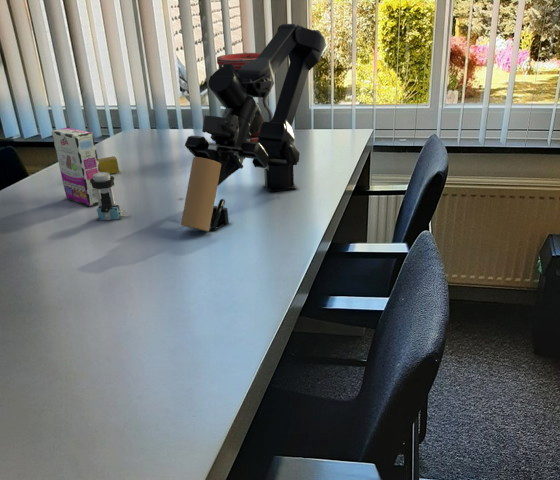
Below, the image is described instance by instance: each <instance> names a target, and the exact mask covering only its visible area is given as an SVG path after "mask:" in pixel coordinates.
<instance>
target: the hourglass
mask: <svg viewBox="0 0 560 480" xmlns="http://www.w3.org/2000/svg"><path fill="white" fill-rule="evenodd" d="M261 53H262V52H239V53H237V52H236V53H229V54H223V55H218V56H217V57H216V64H217V65H218V70H219V69H221V68H222V67H223V64H232V65H233V66H234V68H235V71H236V72H238V70H239V69H240V68H241V67H242V66H244V65H245V64H246V63H248V62H251V61H253V60H255V59H256V58H258V56H259V55H260V54H261ZM271 91H272V90H271ZM271 91H270V93H271ZM270 93H269V94H268V96H267V97H265V98H262V105H263V107H264V109H265V110H266V111H267V113H268V120H269V121H268V122H270V121H271V120H272V118H273V116H274V113H273V111H272V109H271V107H270V106H269V104H268V97H269V95H270ZM252 98H253V99H254V97H252ZM228 110H229V109H228V108H225V109H224V110H223V111H222V112H223V113H222V117H223V118H225V117H226V115H227V112H228ZM263 122H266V120H265V117H264V115H263V114H262V113H261V116H254V119H253V122H252V124H251V127H250V129H249V132H250V134H251V137H250V139H246V140H245V141H248V142H257V140H258V137H257V136H258V135H259V133H260V130H261V125H262V123H263Z"/></svg>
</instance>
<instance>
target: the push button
mask: <svg viewBox="0 0 560 480" xmlns="http://www.w3.org/2000/svg"><path fill="white" fill-rule="evenodd" d="M90 183H92V187H93V188H96V193H97V198H98V202H99V204H97V206H98V207H97V208H96V213H97V217H98V220H99V221H105V220H106V221H111V220H119V219H120V217H126V216H128V214H127V213H126V212H127V210H126V209H125V210H122V209H120V205H119V204H117V202H116V201H115V195H114V191H113V187H114V186H115V177H114V176H113V175H111V174H109V173H107V172H100V173H96V174H94V175H93V178H92V179H90ZM100 191H101V194H100ZM123 213H125V214H123Z"/></svg>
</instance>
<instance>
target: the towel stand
mask: <svg viewBox="0 0 560 480" xmlns="http://www.w3.org/2000/svg"><path fill="white" fill-rule="evenodd" d="M225 204H226V200H225V199H224V198H221V199H219V201H218V204H217V205H214V207H213V213H212V218H211V223H210V231H211V232H216V231H218V230H219V229H221V228H223V227H225V226H228V225H229V224H230V222H229V211H228V207H225Z"/></svg>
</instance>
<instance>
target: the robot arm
mask: <svg viewBox="0 0 560 480" xmlns="http://www.w3.org/2000/svg"><path fill="white" fill-rule="evenodd" d="M325 47H326V38H325V36H324V35H323V33H322V32H321V30H320V29H310V28H307V27H304V26H303V25H300V24H298V23H282V24H280V25H279V26H278V27H277V31H276V33H275V34H274V35H273V37H272V38H271V39H270V41H269V42H268V43H267V44H266V46H265V47H264V49H263V50H262V51H261V52H260V53H261V54H260V55H259V56H258V58H256V59H255V60H253V61H251V62H248V63H246V64H245V65H244V66H242V67H241V68H240V69H239V70H238V72H236V71H235V68H234V66H233V65H232V64H223V66H222V68H221V69H219V68H218V69H217V70H216V71H214V72H213V73H212V75H210V77H209V78H208V88H209V89H210V90H211V92H212V93H213V95H214V96H215V97H216V99H217V100H218V101H219V103H220V104H221V106H222V107H224V108H225V109H226V108H228V109H229V110H228V112H227V115H226V117H225V118H223V116H217V115H215V116H214V115H204V116H203V123H202V130H201V132H202V133H206V134H209V135H210V139H211V140H212V141H213V142H211V141H208V139H207V138H206V137H205V136H200V135H189V136H187V138H186V141H185V143H184V147H185V148H186V149H187V150H188V151H189V152H190V153H191V154H192V156H193V157H201V158H206V159H210V160H213V161H216V162H219V163H221V170H220V175H219V181H218V186H217V187H219V186H220V185H221V184H223V182H225V180H227V179H228V178H229V177H230V176H232V175H233V174H234V173H236V172H237V171H238V170H239V169H243V168H244V165H243V163H244V160H246V159H251V160H252V161H251V162H252V164H253V166H254V167H255V168H260V169H263V170H264V171H263V172H264V185H265V187H266V188H267V190H269V191H270V193H274V192H275V193H276V192H283V191H284V192H285V191H291V190H293V191H294V190H296V189H297V187H296V186H295V180H294V179H295V177H294V166H297V165H298V163H299V162H300V151H299V150H298V148H297V147H296V145H295V144H294V143H295V136H294V132H293V131H294V130H293V123H294V120H295V118H296V114H297V110H298V108H299V104H300V101H301V98H302V95H303V91H304V88H305V85H306V82H307V79H308V75H309V72H310V71H311V70H312V69H313V68H314V67H315V66H316V65H317V64H318V63H319V62H320V59H321V57H322V55H323V52H324V51H325ZM287 57H288V58H289V59H288V60H289V65H288V68H287V71H286V74H285V77H284V81H283V84H282V87H281V90H280V93H279V97H278V100H277V103H276V105H275V110H274V113H273V118H272V120H271V121H270V122H269V121H265V122H263V123H262V125H261V130H260V133H259V135H258V136H257V137H258V140H257V142H248V141H245V140H246V139H250V137H251V134H250V132H249V129H250V127H251V124H252V122H253V119H254V116H261V114H262V110H261V107H260V103H259V102H256V100H255V99H254V98H257V99H258V98H261V99H263V98H265V97H267V96H268V97H269V95H270V93H271V92H270V91H272V89H273V87H274V85H275V74H276V73H277V71H278V70H279V68H280V67H281V65H282V64H283V63H284V61H285V60H286V59H287ZM268 94H269V95H268ZM252 97H253V98H252Z"/></svg>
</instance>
